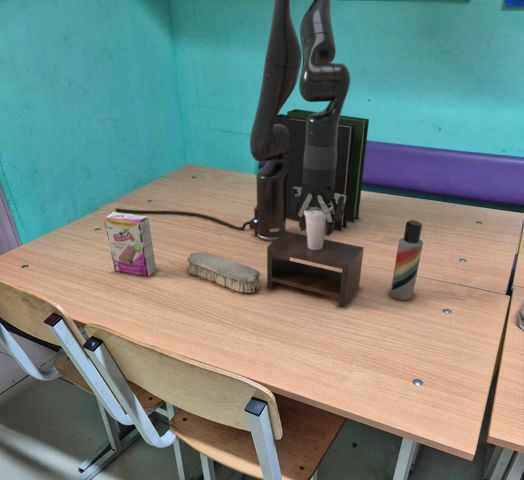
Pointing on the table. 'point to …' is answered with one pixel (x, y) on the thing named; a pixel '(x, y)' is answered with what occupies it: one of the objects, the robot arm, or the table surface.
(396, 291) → the lotion bottle
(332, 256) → the box
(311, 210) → the smoothie
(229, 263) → the shoe brush
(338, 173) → the binder
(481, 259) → the table surface
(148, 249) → the candy bar box
